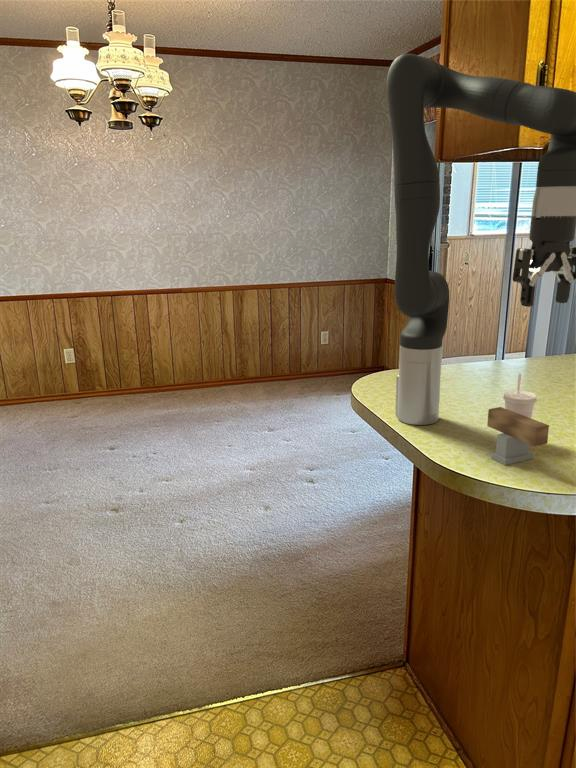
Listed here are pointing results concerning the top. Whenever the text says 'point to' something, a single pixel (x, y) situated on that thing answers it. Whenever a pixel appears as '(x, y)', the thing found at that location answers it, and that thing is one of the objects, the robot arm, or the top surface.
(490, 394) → the top surface
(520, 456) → the block
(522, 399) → the smoothie
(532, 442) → the walnut bar
